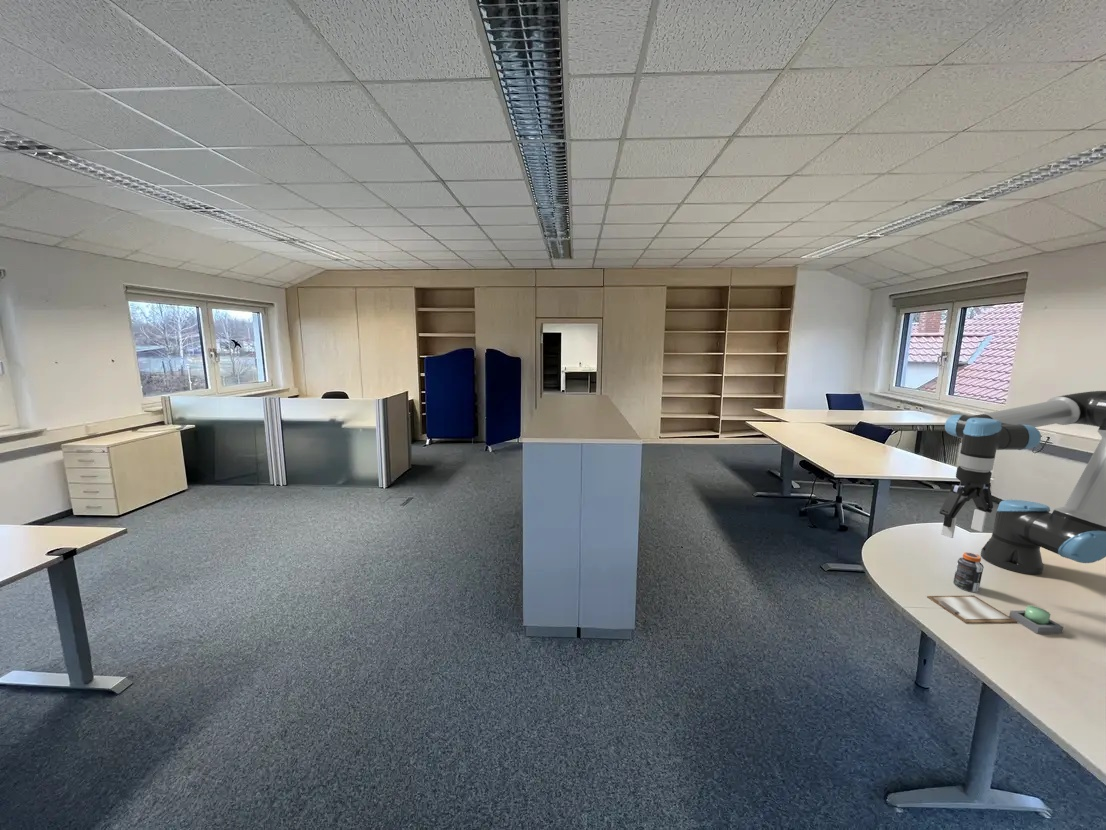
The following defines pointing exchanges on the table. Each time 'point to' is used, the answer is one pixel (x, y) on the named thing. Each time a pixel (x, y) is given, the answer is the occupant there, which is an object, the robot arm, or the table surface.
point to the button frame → (1039, 629)
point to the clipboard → (971, 609)
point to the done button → (1037, 615)
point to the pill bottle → (968, 572)
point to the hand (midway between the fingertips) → (962, 533)
